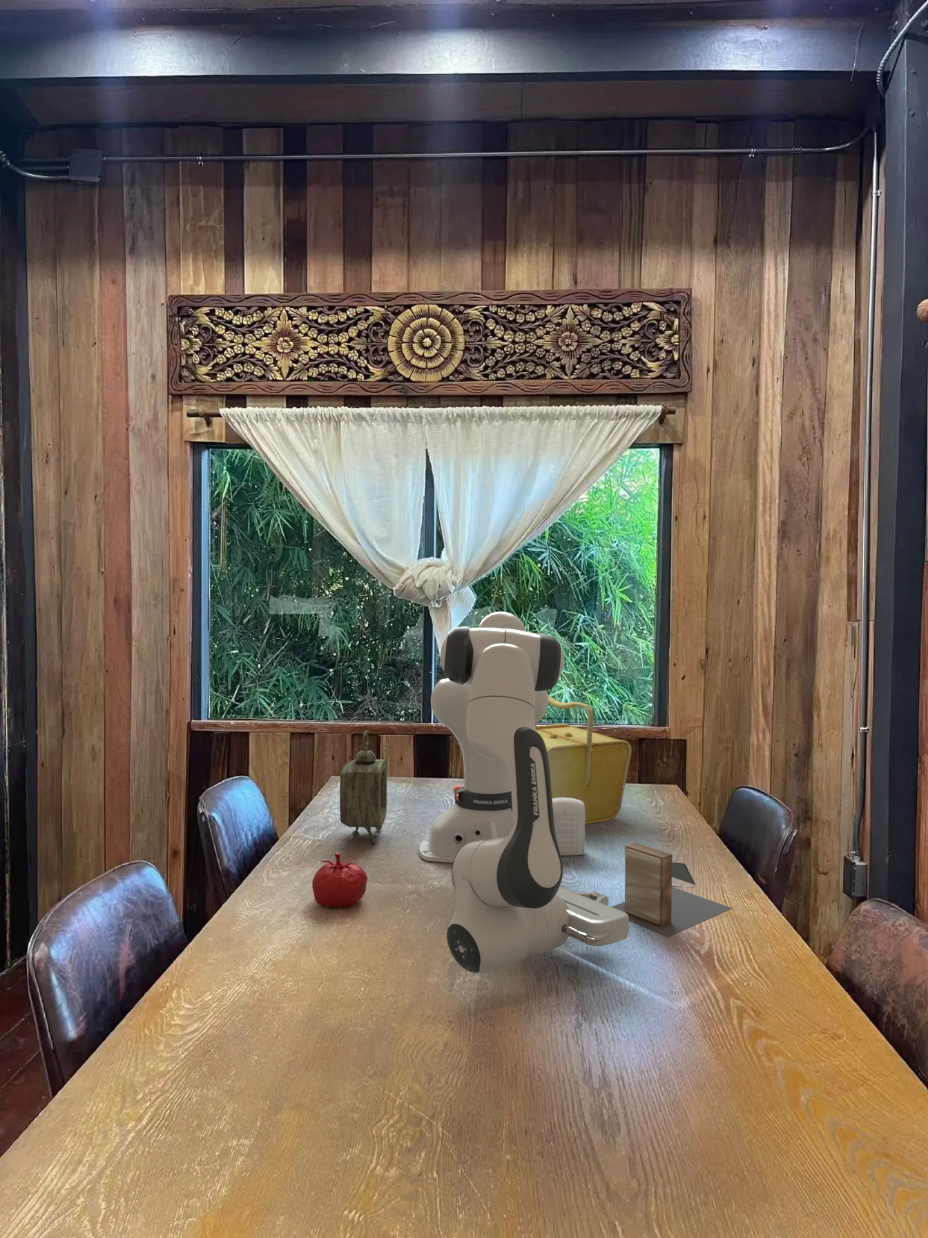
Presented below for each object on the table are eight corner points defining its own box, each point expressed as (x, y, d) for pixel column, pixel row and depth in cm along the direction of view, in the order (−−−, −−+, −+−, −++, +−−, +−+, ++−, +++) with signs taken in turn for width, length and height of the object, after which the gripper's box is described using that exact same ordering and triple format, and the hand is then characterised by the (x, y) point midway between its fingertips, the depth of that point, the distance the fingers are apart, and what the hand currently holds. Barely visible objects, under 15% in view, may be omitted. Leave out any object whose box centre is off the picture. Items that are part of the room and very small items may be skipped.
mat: (667, 940, 129) (667, 937, 129) (602, 913, 140) (602, 910, 140) (732, 911, 141) (732, 908, 141) (667, 888, 152) (667, 885, 152)
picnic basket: (490, 803, 212) (490, 693, 211) (570, 793, 223) (571, 689, 222) (545, 834, 186) (546, 708, 185) (634, 821, 197) (635, 702, 196)
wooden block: (660, 928, 133) (661, 858, 132) (623, 912, 139) (624, 845, 138) (671, 923, 134) (672, 854, 134) (634, 908, 141) (634, 842, 140)
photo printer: (581, 849, 175) (582, 794, 174) (587, 856, 170) (587, 800, 170) (536, 851, 173) (537, 796, 173) (541, 858, 169) (541, 801, 168)
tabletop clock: (379, 848, 175) (379, 737, 174) (339, 847, 175) (338, 736, 174) (386, 828, 190) (387, 726, 189) (349, 828, 190) (349, 725, 189)
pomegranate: (356, 917, 139) (356, 865, 138) (303, 911, 141) (303, 860, 140) (374, 894, 148) (374, 846, 148) (324, 889, 150) (324, 842, 150)
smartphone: (685, 863, 165) (697, 888, 151) (685, 867, 165) (697, 893, 151) (649, 861, 166) (658, 886, 151) (649, 865, 166) (658, 890, 151)
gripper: (593, 921, 112) (653, 898, 120) (497, 881, 127) (557, 863, 136) (592, 965, 112) (653, 939, 120) (497, 919, 128) (557, 899, 136)
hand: (601, 898), depth 128 cm, fingers closed
